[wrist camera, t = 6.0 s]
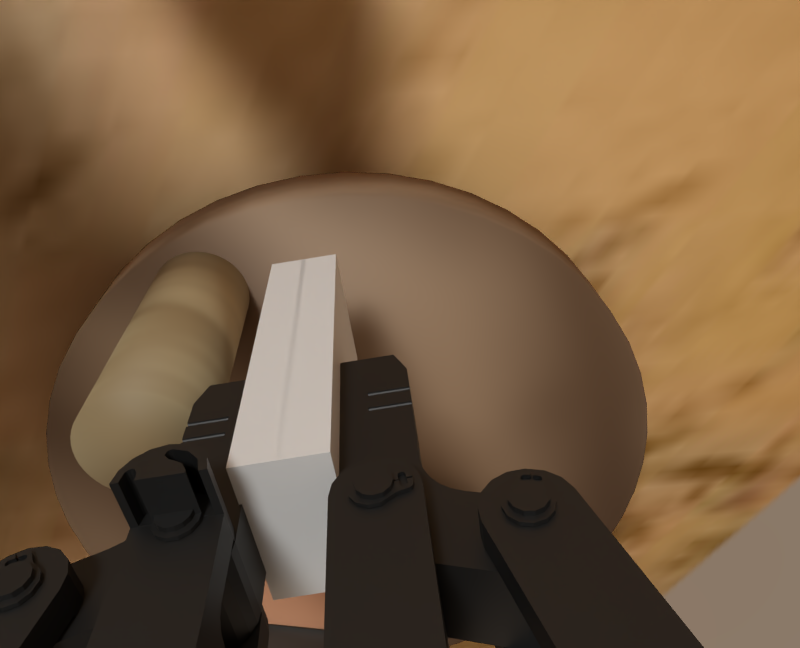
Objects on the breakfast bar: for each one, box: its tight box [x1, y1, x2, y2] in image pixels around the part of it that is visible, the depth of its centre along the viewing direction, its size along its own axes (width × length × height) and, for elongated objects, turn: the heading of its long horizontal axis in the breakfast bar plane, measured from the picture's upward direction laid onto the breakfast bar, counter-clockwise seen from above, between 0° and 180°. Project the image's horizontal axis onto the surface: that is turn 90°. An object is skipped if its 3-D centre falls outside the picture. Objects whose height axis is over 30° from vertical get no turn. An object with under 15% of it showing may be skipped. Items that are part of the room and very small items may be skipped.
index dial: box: [46, 172, 647, 648], centre depth 19 cm, size 18×18×8 cm
